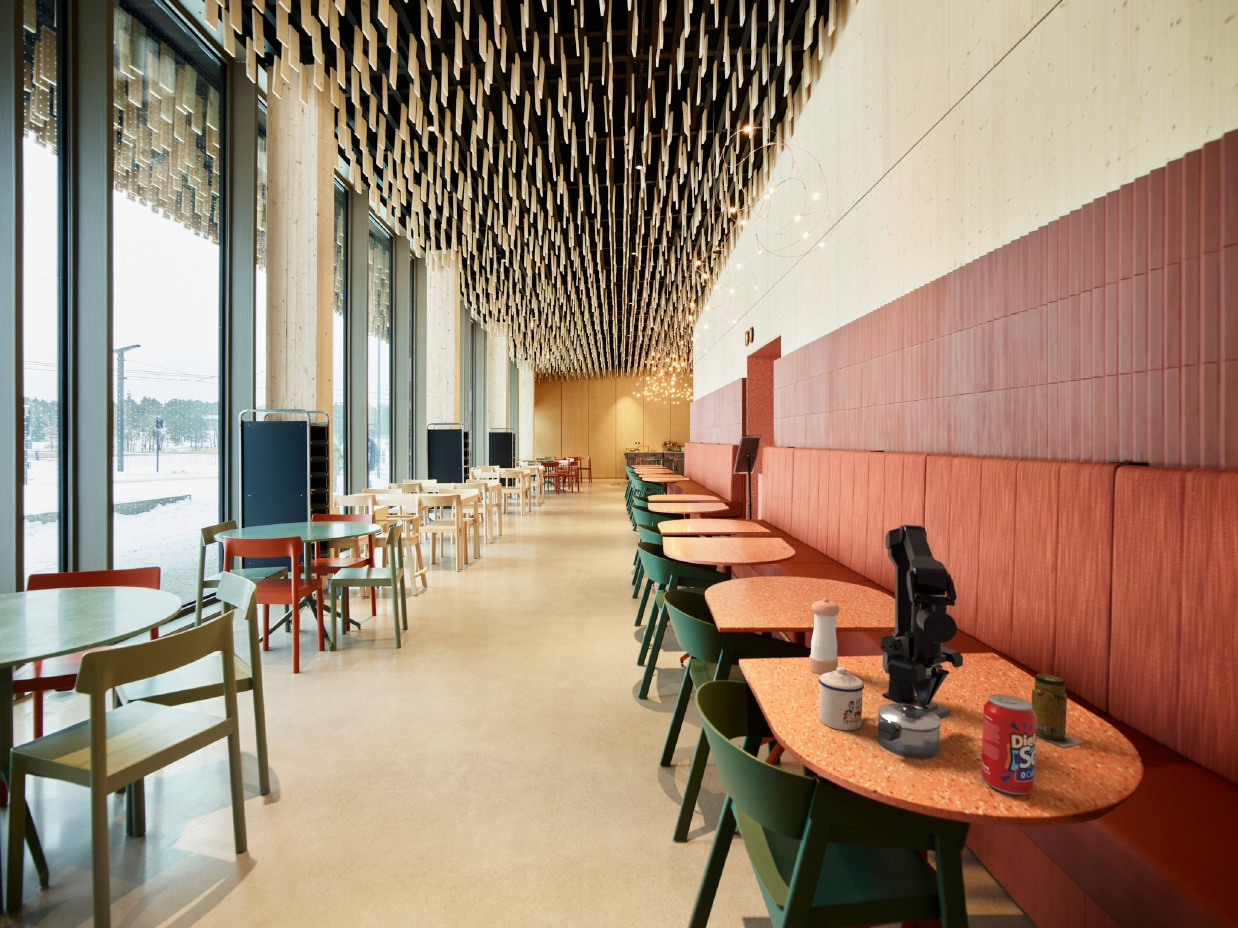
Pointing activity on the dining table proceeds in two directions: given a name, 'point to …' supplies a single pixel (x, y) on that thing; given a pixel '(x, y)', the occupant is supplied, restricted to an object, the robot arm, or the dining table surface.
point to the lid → (910, 716)
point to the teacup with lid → (840, 700)
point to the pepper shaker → (824, 637)
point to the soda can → (1009, 744)
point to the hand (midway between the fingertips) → (924, 704)
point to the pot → (911, 738)
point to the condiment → (1051, 710)
